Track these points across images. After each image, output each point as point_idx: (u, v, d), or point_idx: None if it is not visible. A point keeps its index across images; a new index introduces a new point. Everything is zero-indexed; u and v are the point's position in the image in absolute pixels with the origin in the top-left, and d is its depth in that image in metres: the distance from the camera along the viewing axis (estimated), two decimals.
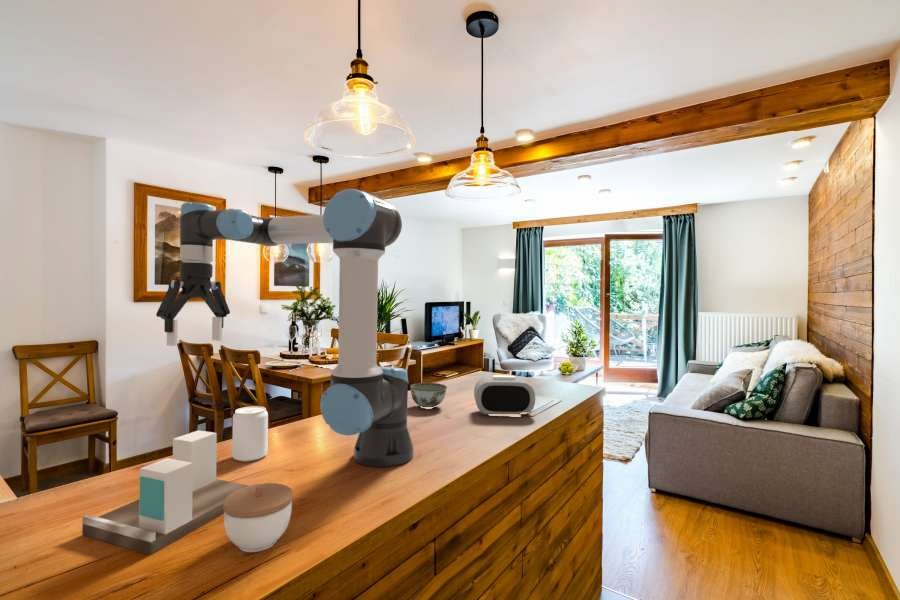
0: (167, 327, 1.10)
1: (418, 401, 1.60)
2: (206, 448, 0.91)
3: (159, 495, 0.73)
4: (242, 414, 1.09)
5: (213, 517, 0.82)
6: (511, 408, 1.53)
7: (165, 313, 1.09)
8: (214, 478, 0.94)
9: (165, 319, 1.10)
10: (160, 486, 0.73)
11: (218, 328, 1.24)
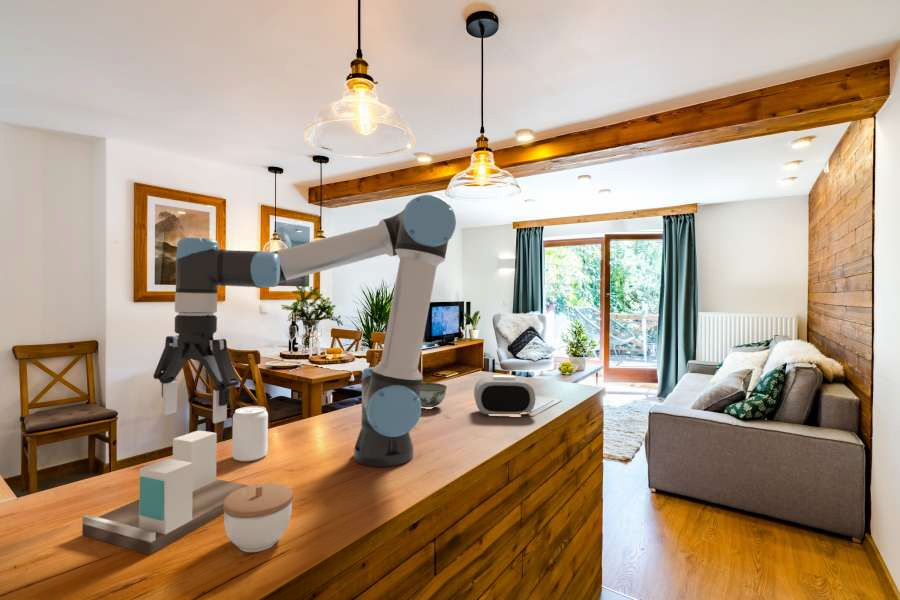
0: None
1: None
2: (206, 448, 0.91)
3: (159, 495, 0.73)
4: (242, 414, 1.09)
5: (213, 517, 0.82)
6: (511, 408, 1.53)
7: (155, 374, 0.94)
8: (214, 478, 0.94)
9: None
10: (160, 486, 0.73)
11: None
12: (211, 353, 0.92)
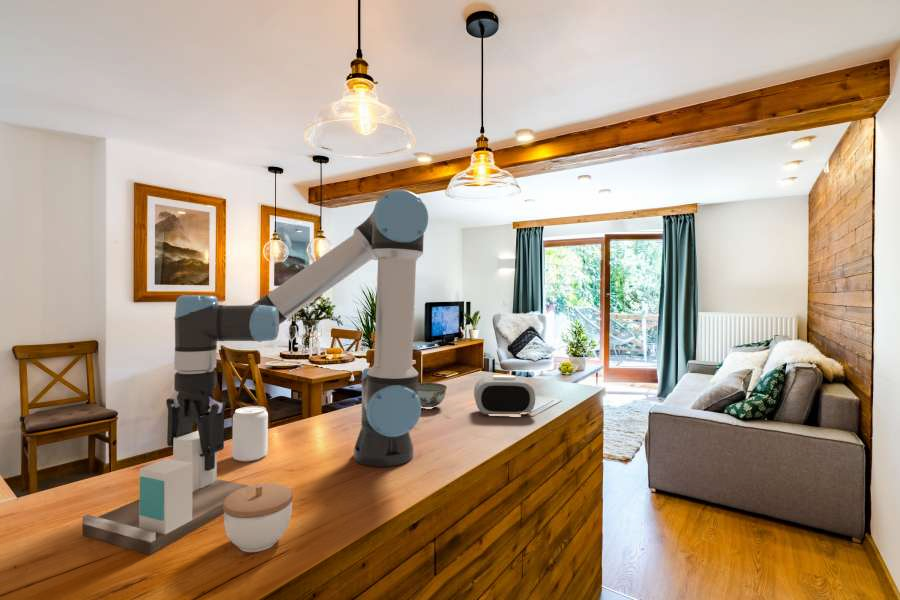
0: None
1: None
2: None
3: (159, 495, 0.73)
4: (242, 414, 1.09)
5: (213, 517, 0.82)
6: (511, 408, 1.53)
7: (168, 442, 0.93)
8: (214, 478, 0.94)
9: None
10: (160, 486, 0.73)
11: None
12: (208, 411, 0.92)
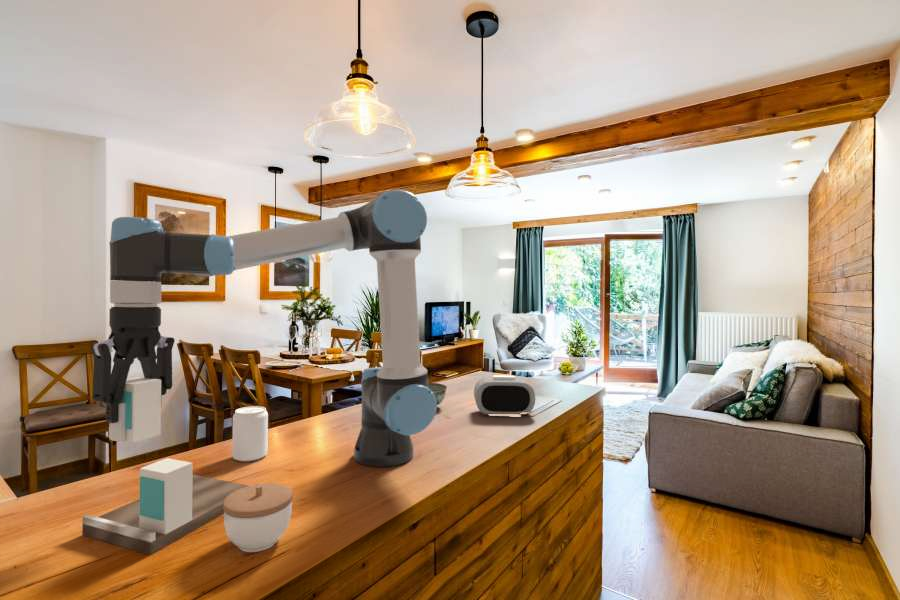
0: (109, 416, 0.76)
1: None
2: None
3: (159, 495, 0.73)
4: (242, 414, 1.09)
5: (213, 517, 0.82)
6: (511, 408, 1.53)
7: (105, 397, 0.74)
8: None
9: (106, 404, 0.76)
10: (160, 486, 0.73)
11: None
12: None
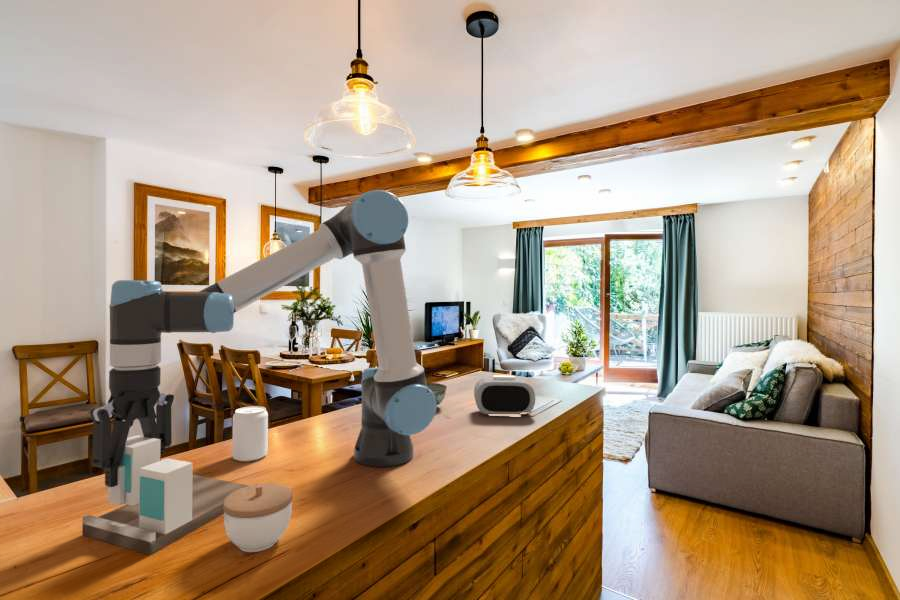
0: (109, 480, 0.76)
1: None
2: None
3: (159, 495, 0.73)
4: (242, 414, 1.09)
5: (213, 517, 0.82)
6: (511, 408, 1.53)
7: (104, 463, 0.74)
8: None
9: (106, 468, 0.76)
10: (160, 486, 0.73)
11: None
12: None
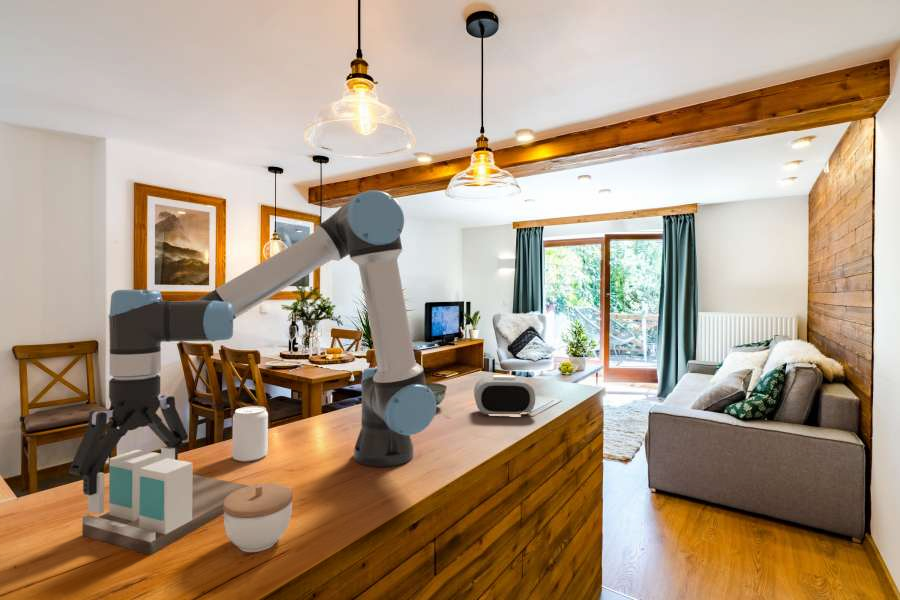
0: (87, 488, 0.72)
1: None
2: None
3: (159, 495, 0.73)
4: (242, 414, 1.09)
5: (213, 517, 0.82)
6: (511, 408, 1.53)
7: (82, 470, 0.71)
8: None
9: (84, 475, 0.72)
10: (160, 486, 0.73)
11: None
12: None
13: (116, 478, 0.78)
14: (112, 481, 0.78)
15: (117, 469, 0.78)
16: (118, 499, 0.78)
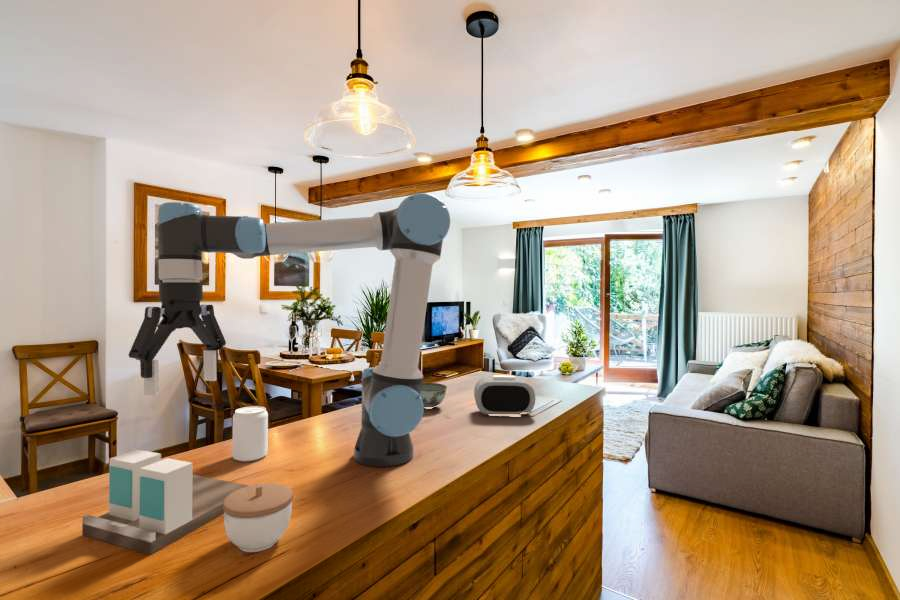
0: (144, 371, 0.82)
1: None
2: None
3: (159, 495, 0.73)
4: (242, 414, 1.09)
5: (213, 517, 0.82)
6: (511, 408, 1.53)
7: (141, 353, 0.80)
8: None
9: (141, 360, 0.82)
10: (160, 486, 0.73)
11: (212, 365, 0.96)
12: None
13: (116, 478, 0.78)
14: (112, 481, 0.78)
15: (117, 469, 0.78)
16: (118, 499, 0.78)
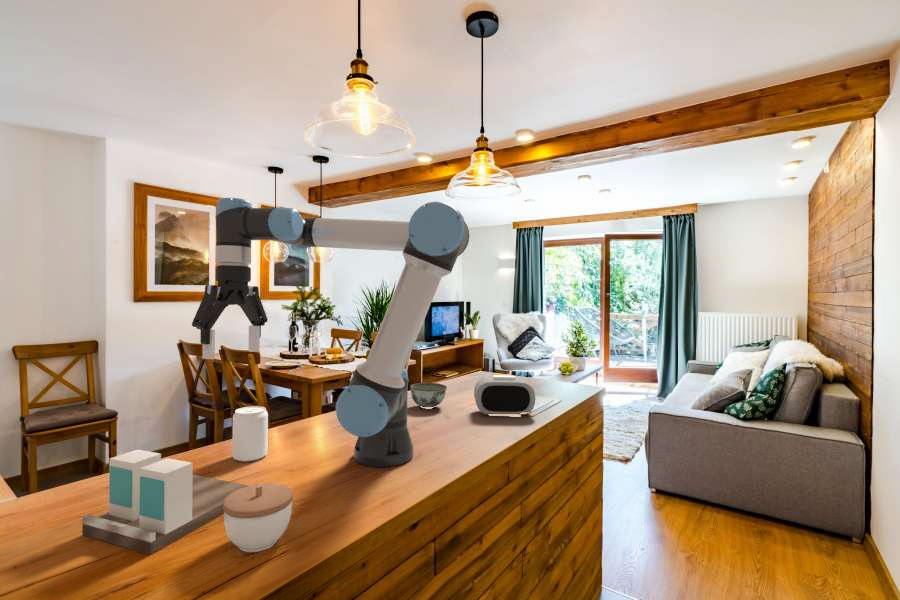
0: (204, 338, 0.98)
1: (418, 401, 1.60)
2: None
3: (159, 495, 0.73)
4: (242, 414, 1.09)
5: (213, 517, 0.82)
6: (511, 408, 1.53)
7: (202, 323, 0.96)
8: None
9: (201, 329, 0.98)
10: (160, 486, 0.73)
11: (255, 338, 1.11)
12: None
13: (116, 478, 0.78)
14: (112, 481, 0.78)
15: (117, 469, 0.78)
16: (118, 499, 0.78)
